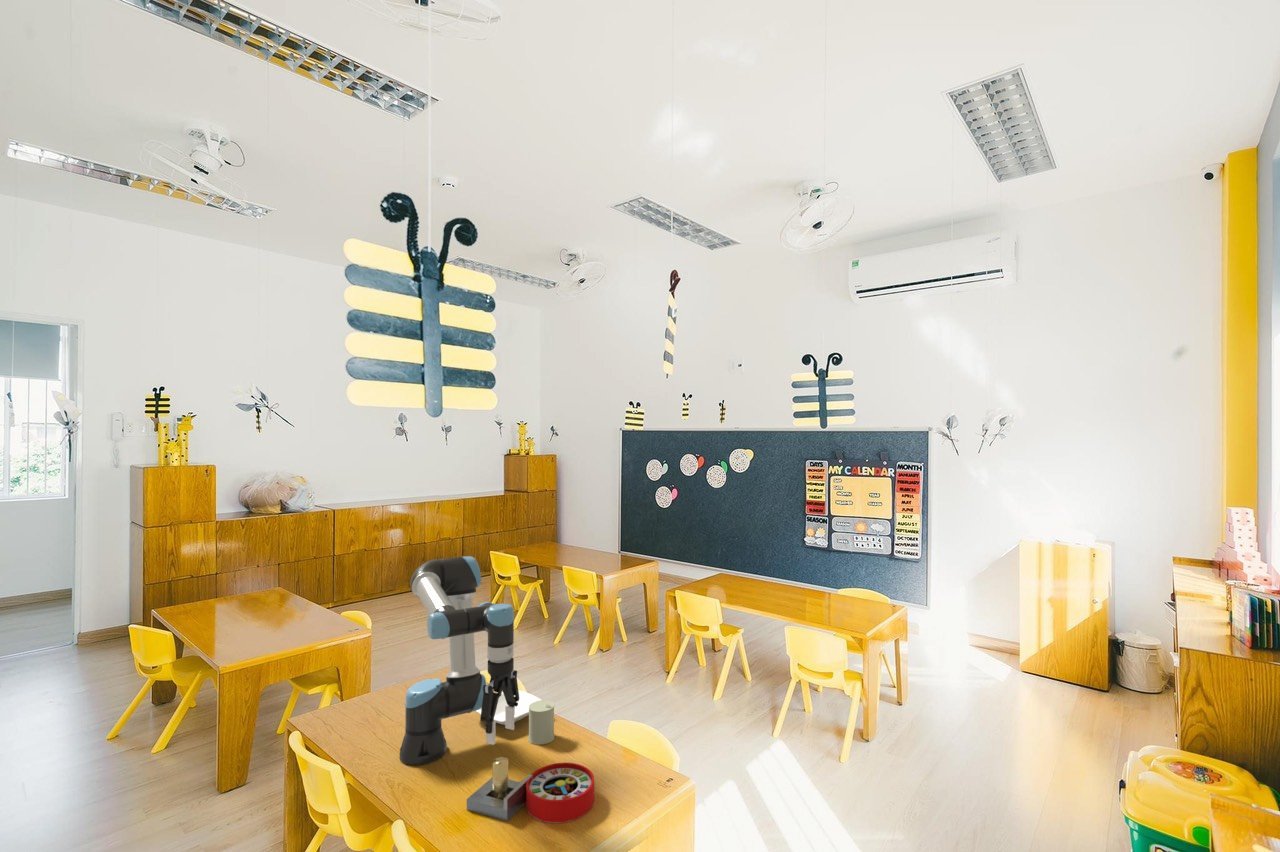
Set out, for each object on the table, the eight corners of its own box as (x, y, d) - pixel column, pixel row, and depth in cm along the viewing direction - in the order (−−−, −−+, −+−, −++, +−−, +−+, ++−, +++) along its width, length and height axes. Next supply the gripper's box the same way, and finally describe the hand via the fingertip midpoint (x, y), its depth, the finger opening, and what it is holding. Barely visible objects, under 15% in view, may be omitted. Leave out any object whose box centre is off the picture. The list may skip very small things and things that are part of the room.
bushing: (502, 808, 169) (502, 766, 169) (489, 805, 171) (489, 763, 171) (511, 799, 173) (511, 758, 174) (498, 796, 175) (498, 755, 175)
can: (549, 746, 204) (549, 711, 205) (524, 743, 206) (524, 709, 206) (558, 733, 213) (558, 700, 214) (534, 730, 215) (534, 697, 215)
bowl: (465, 721, 223) (465, 705, 223) (514, 700, 241) (514, 686, 241) (499, 740, 208) (500, 724, 209) (550, 717, 226) (550, 702, 226)
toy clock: (582, 756, 186) (603, 790, 167) (582, 775, 186) (603, 811, 167) (519, 771, 178) (534, 808, 159) (519, 790, 178) (534, 830, 159)
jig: (466, 809, 169) (466, 788, 169) (494, 785, 181) (494, 765, 181) (507, 821, 163) (507, 799, 163) (532, 795, 175) (532, 775, 176)
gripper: (488, 673, 162) (488, 756, 161) (531, 648, 182) (531, 721, 181) (466, 669, 165) (466, 750, 164) (511, 645, 185) (511, 717, 184)
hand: (500, 735), depth 173 cm, fingers open, 9 cm apart
